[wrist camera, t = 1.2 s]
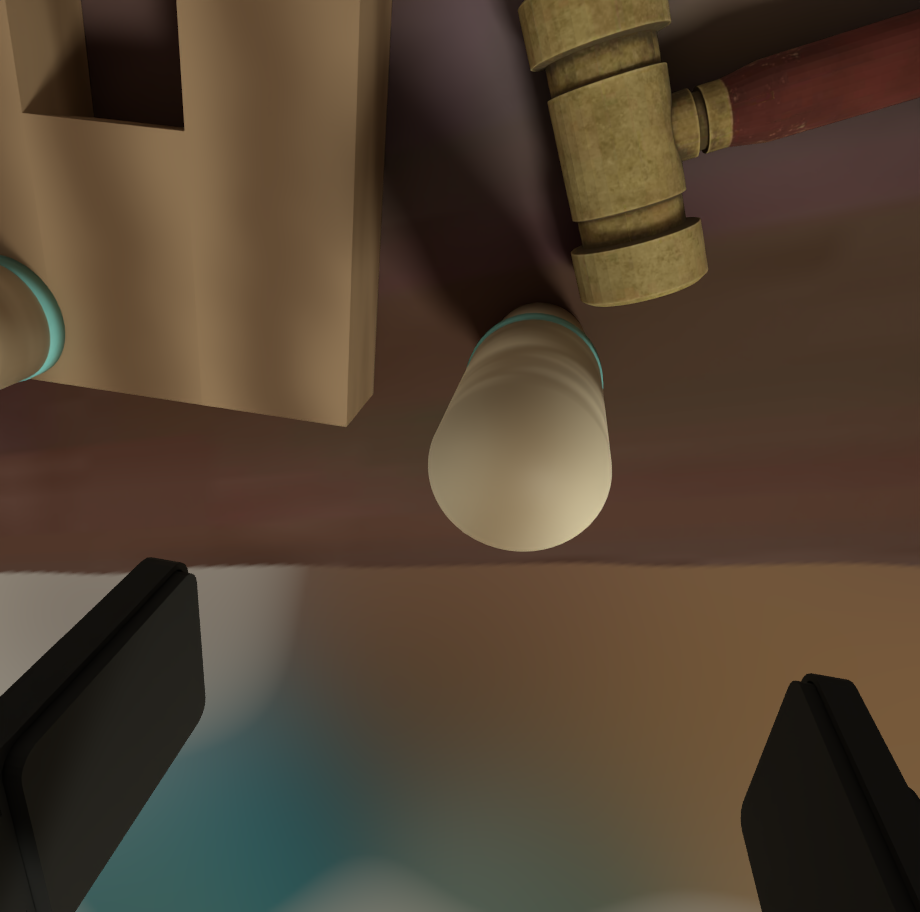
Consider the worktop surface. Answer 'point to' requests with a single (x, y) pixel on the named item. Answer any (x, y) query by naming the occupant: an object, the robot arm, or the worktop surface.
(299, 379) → the board
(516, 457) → the peg
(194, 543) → the worktop surface
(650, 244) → the gavel
